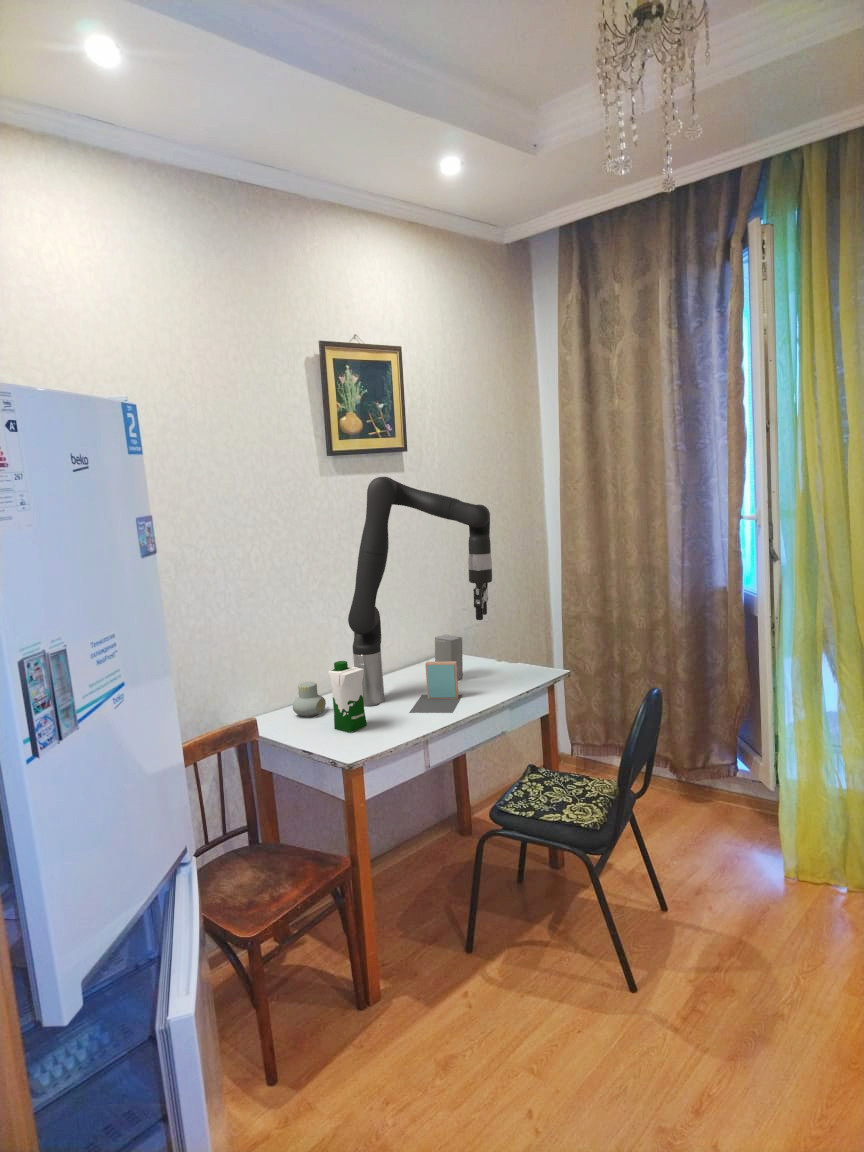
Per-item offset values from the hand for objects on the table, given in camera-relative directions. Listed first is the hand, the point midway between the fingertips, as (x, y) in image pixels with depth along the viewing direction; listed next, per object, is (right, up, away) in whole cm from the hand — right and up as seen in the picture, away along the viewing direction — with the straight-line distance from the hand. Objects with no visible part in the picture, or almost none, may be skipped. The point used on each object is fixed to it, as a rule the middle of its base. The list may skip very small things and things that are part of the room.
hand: (481, 617), depth 245 cm
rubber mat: (-14, -28, +1) cm, 32 cm away
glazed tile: (-12, -27, +7) cm, 31 cm away
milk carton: (-40, -33, -16) cm, 54 cm away
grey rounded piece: (-55, -32, +1) cm, 64 cm away
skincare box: (-9, -24, +30) cm, 40 cm away
